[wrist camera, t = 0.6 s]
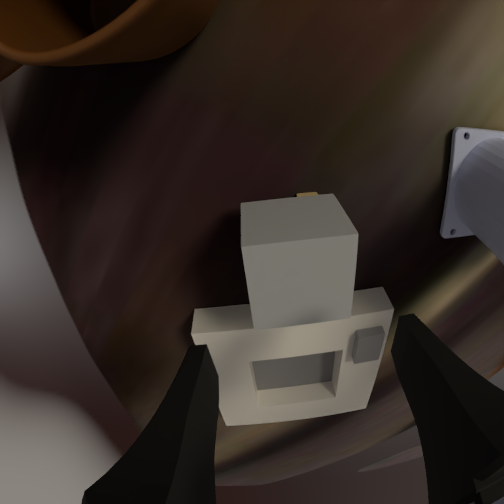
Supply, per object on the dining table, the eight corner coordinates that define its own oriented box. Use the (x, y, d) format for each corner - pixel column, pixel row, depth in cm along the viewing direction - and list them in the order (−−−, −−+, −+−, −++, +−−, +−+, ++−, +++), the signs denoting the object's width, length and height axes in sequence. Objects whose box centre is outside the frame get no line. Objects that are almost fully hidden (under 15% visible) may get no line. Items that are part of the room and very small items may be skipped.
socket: (382, 286, 23) (398, 316, 20) (360, 388, 30) (367, 414, 28) (194, 308, 23) (189, 342, 20) (226, 405, 31) (226, 432, 28)
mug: (56, 124, 16) (-52, 185, 8) (15, 29, 12) (-100, 41, 4) (243, 26, 13) (246, -18, 6) (191, -78, 10) (154, -169, 2)
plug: (326, 183, 18) (358, 233, 13) (326, 254, 21) (350, 317, 16) (240, 191, 19) (241, 246, 13) (250, 263, 21) (254, 330, 16)
